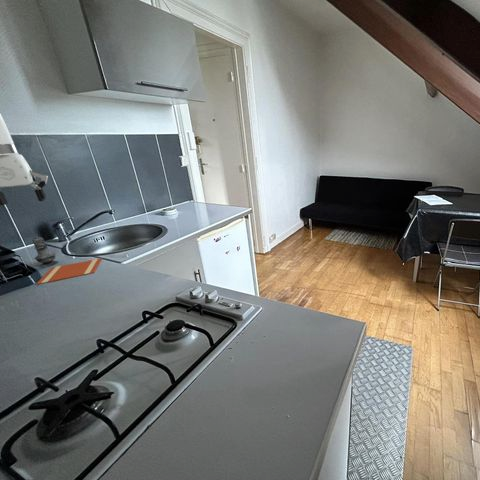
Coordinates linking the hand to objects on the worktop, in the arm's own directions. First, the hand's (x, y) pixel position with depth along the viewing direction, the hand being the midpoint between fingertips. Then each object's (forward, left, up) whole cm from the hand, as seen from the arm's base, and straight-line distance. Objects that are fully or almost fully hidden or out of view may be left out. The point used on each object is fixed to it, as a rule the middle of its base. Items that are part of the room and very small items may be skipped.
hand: (23, 202), depth 91 cm
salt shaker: (-2, +3, -25) cm, 25 cm away
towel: (+8, -10, -25) cm, 28 cm away
